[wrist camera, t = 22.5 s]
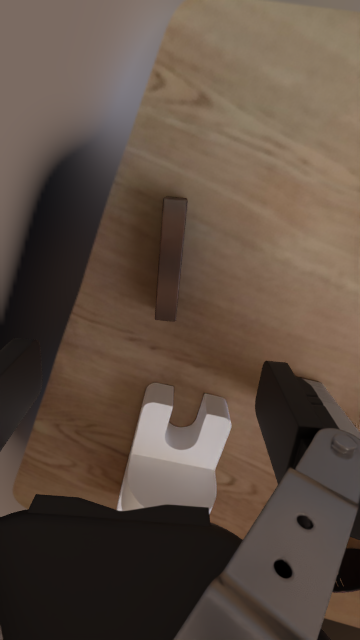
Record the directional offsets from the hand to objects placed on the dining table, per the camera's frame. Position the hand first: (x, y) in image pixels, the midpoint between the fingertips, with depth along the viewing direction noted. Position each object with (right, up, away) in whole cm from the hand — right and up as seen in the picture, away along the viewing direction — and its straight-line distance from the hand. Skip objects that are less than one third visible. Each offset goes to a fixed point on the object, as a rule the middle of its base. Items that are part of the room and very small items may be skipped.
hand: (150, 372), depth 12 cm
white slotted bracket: (0, -14, +30) cm, 33 cm away
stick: (0, +8, +21) cm, 22 cm away
